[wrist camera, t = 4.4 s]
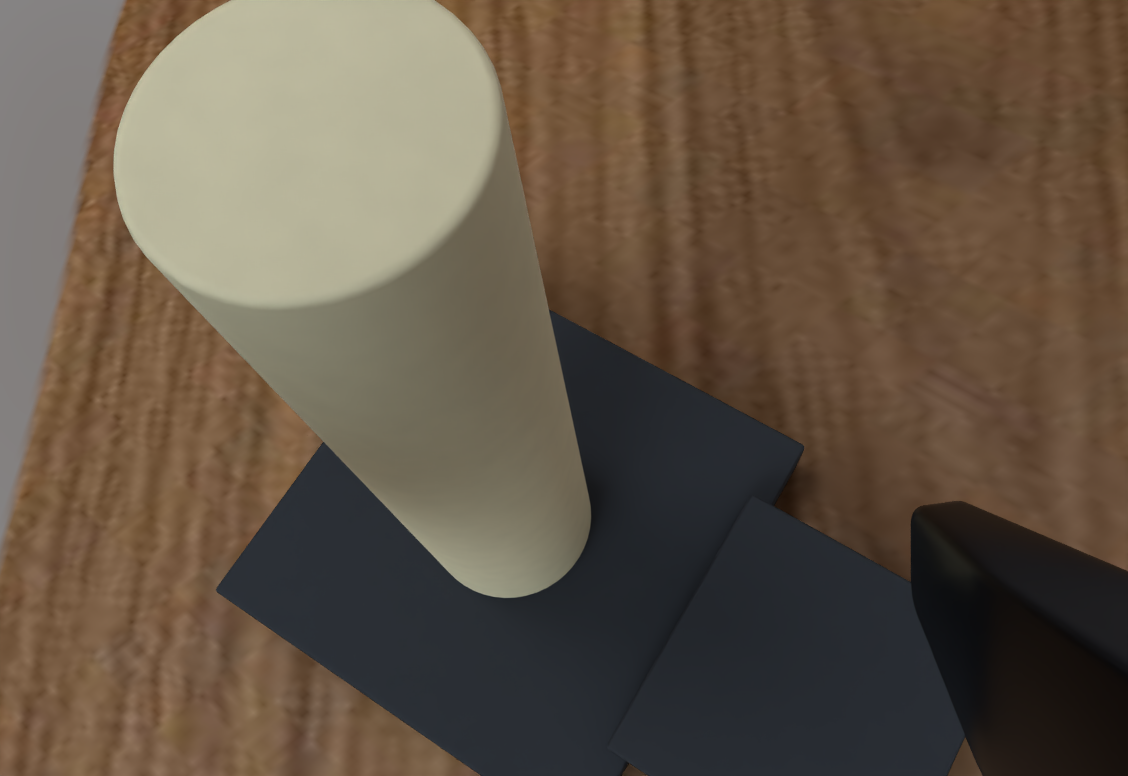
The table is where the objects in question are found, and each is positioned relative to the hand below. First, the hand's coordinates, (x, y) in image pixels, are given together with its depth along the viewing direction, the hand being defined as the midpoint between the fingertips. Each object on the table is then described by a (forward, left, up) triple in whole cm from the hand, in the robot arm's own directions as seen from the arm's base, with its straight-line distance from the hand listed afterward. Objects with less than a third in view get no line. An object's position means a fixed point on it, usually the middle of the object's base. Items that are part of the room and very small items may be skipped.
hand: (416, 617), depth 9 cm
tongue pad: (+2, -2, -10) cm, 10 cm away
